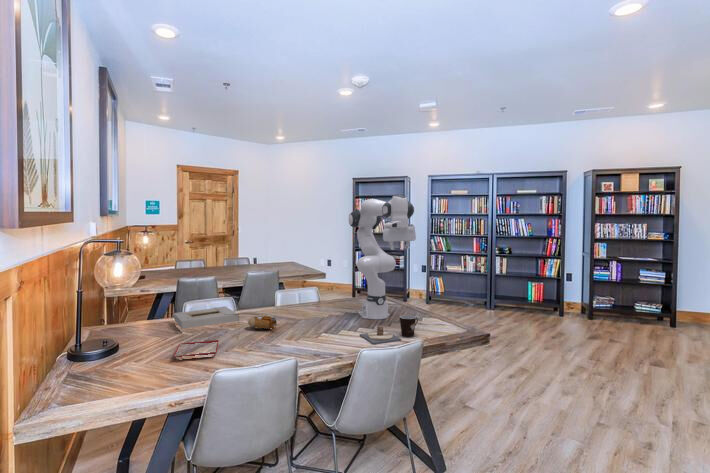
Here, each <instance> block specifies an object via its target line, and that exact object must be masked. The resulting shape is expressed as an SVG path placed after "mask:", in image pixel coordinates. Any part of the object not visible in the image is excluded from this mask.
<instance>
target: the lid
mask: <svg viewBox="0 0 710 473" xmlns="http://www.w3.org/2000/svg"><path fill="white" fill-rule="evenodd" d="M385 331H386V330H384V326H383V325H382V326H380V325H378V326H377V327H376V330H375V331H371V332H368V338H370V339H373V340H389V339H392V338H393V335H394V334H393V333H392V332H390V331H388V332H385ZM389 332H390V333H389Z"/></svg>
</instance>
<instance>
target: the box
mask: <svg viewBox="0 0 710 473" xmlns="http://www.w3.org/2000/svg"><path fill="white" fill-rule="evenodd" d="M173 318H174V319H175V321H176V322H177V323H178V325H179V326H180V327H181V329H182V328H190V327H197V326H205V325H212V324H219V323H225V322H231V321H239V322H240V314H239V313H238V312H236V311H234V310H232V309H231V308H229V307H227V306H226V305H225V306H218V307H216V306H215V307H212V308H207V309H206V308H205V309H198V310H191V311H180V312H173V313H172V319H173Z"/></svg>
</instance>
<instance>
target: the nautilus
mask: <svg viewBox="0 0 710 473" xmlns="http://www.w3.org/2000/svg"><path fill="white" fill-rule="evenodd" d="M277 321H278V320H277V319H276V317H274V315H272V314H265V313H261V314H257V315H254V316H252V317H250V318H249V319H248V321H247V324H248V326H249V327H253V328H254V327H257V328H255V329H256V330H259V329H258V328H264V329H265V330H271V332H273V331H274V330H275V332H278V331H277V327H276V326H277ZM274 326H275V327H274ZM267 328H269V329H267ZM270 328H273V329H270Z"/></svg>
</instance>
